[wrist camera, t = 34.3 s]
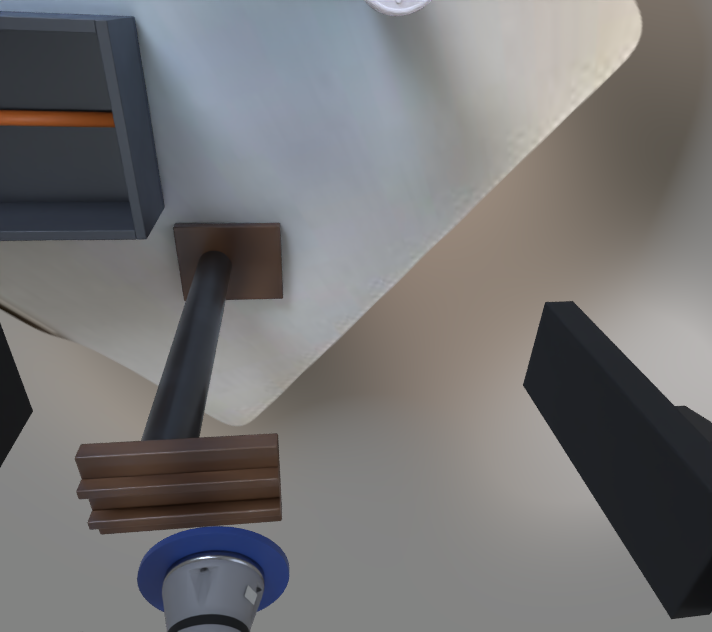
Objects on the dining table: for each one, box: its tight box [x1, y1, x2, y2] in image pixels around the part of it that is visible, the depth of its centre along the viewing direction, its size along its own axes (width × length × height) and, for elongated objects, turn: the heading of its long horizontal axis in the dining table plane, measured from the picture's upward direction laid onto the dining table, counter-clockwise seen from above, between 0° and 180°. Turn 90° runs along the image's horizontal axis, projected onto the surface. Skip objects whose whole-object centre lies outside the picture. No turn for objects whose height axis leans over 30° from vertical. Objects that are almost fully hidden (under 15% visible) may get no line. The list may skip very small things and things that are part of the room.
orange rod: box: [0, 110, 115, 127], centre depth 42 cm, size 20×1×1 cm, turn 87°
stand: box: [75, 223, 283, 534], centre depth 40 cm, size 10×8×30 cm
